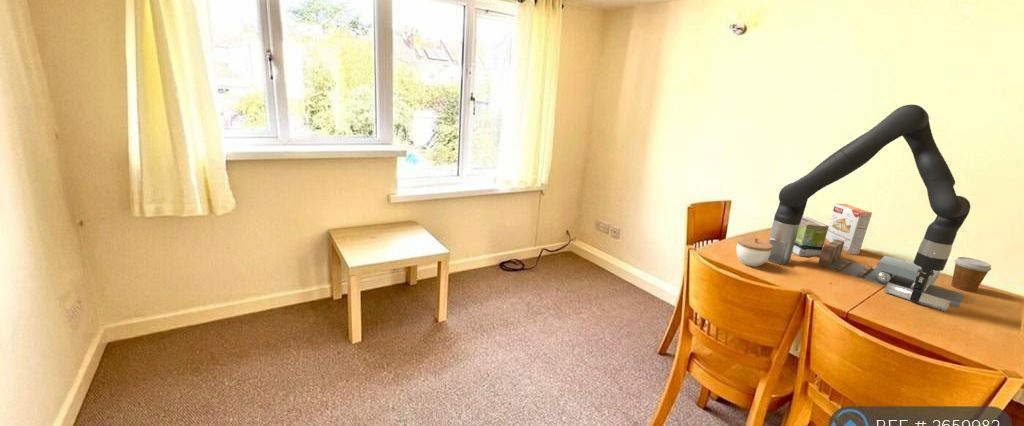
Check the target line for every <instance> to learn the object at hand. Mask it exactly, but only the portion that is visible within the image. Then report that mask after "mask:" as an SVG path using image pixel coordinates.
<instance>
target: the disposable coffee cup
mask: <svg viewBox="0 0 1024 426" xmlns="http://www.w3.org/2000/svg"><path fill="white" fill-rule="evenodd" d="M954 262H955V263H954V264H955V265H954V269H953V274H952V279H951V285H950V286H951V287H953V288H954V289H957V290H960V291H963V292H967V293H968V292H969V293H975V292H976V291H977V290H978V288H979V286H980V285H981V284H982V282H983V280H984V279H985V277H986V276H987V274H988V273H989V272H990V271H991V270H992V265H991V263H989V262H986V261H984V260H980V259H976V258H972V257H965V256H958V257H957V258H956V259H954Z"/></svg>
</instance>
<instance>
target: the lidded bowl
mask: <svg viewBox="0 0 1024 426" xmlns="http://www.w3.org/2000/svg"><path fill="white" fill-rule="evenodd" d="M736 242H737V243H736V249H735V250H736V251H735V253H736V255H737V257H738V259H739V261H740V262H741V263H742V265H745V266H750V267H755V268H756V267H760V266H761V265H764V264H765V263H766V262H767V261H768V258H769V256H770V254H771V251H772V248H773V246H772V244H770V243H768V241H767V240H763V239H759V238H758V237H750V236H749V237H748V236H745V237H744V236H743V237H742V236H741V237H738V238H737V241H736Z"/></svg>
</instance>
